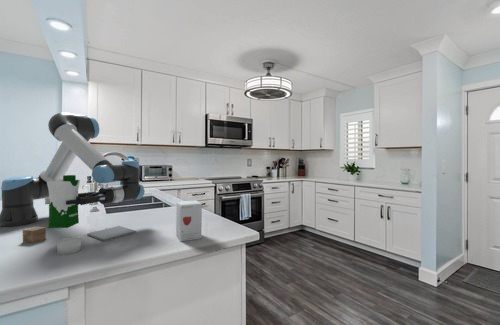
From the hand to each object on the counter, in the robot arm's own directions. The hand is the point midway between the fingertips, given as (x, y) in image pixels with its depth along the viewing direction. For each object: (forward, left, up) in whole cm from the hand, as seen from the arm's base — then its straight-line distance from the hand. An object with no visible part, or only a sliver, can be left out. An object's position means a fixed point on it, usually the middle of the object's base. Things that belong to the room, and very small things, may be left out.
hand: (50, 202), depth 94 cm
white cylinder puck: (+12, +2, -17) cm, 21 cm away
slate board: (+5, +21, -17) cm, 27 cm away
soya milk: (0, +5, -10) cm, 11 cm away
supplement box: (+36, +37, -17) cm, 54 cm away
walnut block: (-12, -1, -17) cm, 21 cm away
